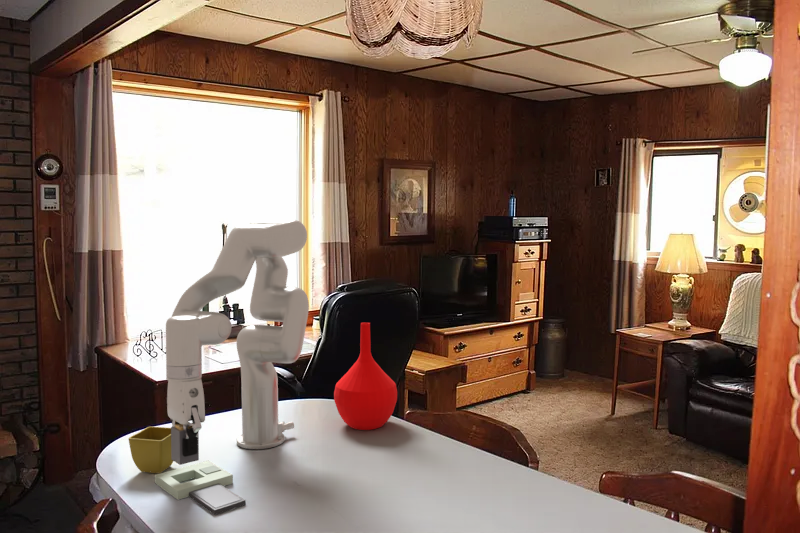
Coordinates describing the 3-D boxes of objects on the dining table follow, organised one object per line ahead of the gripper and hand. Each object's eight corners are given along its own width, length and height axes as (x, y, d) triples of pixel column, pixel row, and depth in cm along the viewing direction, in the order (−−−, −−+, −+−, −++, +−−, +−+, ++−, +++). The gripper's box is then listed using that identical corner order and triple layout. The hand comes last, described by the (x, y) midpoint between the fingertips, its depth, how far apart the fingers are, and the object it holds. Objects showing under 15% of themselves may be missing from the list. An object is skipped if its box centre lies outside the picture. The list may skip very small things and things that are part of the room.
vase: (334, 416, 200) (333, 318, 198) (394, 414, 202) (393, 317, 200) (334, 436, 182) (333, 329, 180) (400, 434, 184) (400, 327, 182)
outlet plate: (208, 468, 159) (208, 459, 159) (232, 483, 150) (232, 473, 150) (155, 483, 151) (154, 473, 150) (177, 499, 142) (177, 489, 142)
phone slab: (218, 487, 148) (218, 482, 148) (245, 504, 139) (245, 499, 139) (188, 496, 143) (188, 491, 143) (214, 515, 135) (214, 509, 134)
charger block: (190, 455, 151) (189, 420, 151) (198, 460, 148) (198, 425, 148) (171, 459, 149) (171, 424, 148) (179, 464, 145) (179, 428, 145)
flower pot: (162, 478, 154) (161, 440, 153) (128, 475, 155) (127, 437, 155) (182, 464, 162) (181, 428, 161) (150, 461, 164) (148, 426, 163)
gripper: (217, 375, 144) (218, 458, 145) (183, 363, 156) (184, 439, 157) (184, 380, 139) (185, 466, 140) (152, 367, 151) (153, 446, 152)
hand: (185, 451), depth 148 cm, fingers closed on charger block, 4 cm apart
